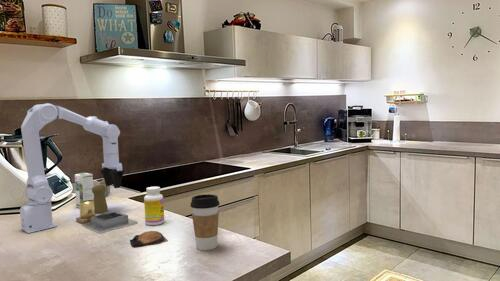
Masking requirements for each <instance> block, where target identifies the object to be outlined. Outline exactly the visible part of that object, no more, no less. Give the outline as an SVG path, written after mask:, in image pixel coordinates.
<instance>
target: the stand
mask: <svg viewBox="0 0 500 281" xmlns="http://www.w3.org/2000/svg"><path fill="white" fill-rule="evenodd" d="M96 215H97V214H95V216H96ZM75 218H76V219H75V220H76V223H79V224H81V225H82V224H84V223H88V222H91V218H90V219H81V218H80V216H78V217H75Z"/></svg>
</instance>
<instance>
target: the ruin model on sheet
mask: <svg viewBox="0 0 500 281" xmlns="http://www.w3.org/2000/svg"><path fill="white" fill-rule="evenodd" d="M99 185H104V186H105V188H106V191H105V198H108V196H109V194H110V193H111V186H106V184H105V180H104V178H103V179H101V180H100V183H99Z"/></svg>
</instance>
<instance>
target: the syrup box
mask: <svg viewBox="0 0 500 281" xmlns="http://www.w3.org/2000/svg"><path fill="white" fill-rule="evenodd" d="M93 176H94V175H93V173H88V172H81V173H76V174H74V184H75V185H74V187H75V203H76V208H78V209H80V205H79V202H80V201H84V200H93V199H94V194H93V192H92V188H93V187H94V180H93V178H94V177H93Z"/></svg>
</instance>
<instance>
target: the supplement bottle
mask: <svg viewBox="0 0 500 281" xmlns="http://www.w3.org/2000/svg"><path fill="white" fill-rule="evenodd" d="M145 192H146V194H145V196H144V197H143V200H144V202H143V204H144V220H145V224H146V225H147V226H157V225H162V224H163V223H164V222H165V208H164V207H165V206H164V196H163V194H161V193H160V192H161V187H160V186H150V187H149V186H148V187H146V191H145Z"/></svg>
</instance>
